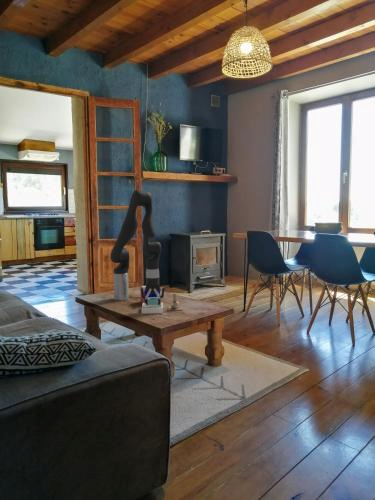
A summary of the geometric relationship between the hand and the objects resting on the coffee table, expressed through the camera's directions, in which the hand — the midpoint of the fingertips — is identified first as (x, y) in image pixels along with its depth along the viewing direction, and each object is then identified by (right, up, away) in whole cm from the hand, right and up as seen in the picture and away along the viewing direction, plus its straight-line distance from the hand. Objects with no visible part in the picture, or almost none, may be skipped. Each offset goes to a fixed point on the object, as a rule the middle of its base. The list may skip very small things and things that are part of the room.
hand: (153, 305), depth 225 cm
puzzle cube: (-3, -1, +19) cm, 20 cm away
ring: (0, +1, 0) cm, 1 cm away
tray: (0, -3, 0) cm, 3 cm away
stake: (+13, -3, +4) cm, 14 cm away
